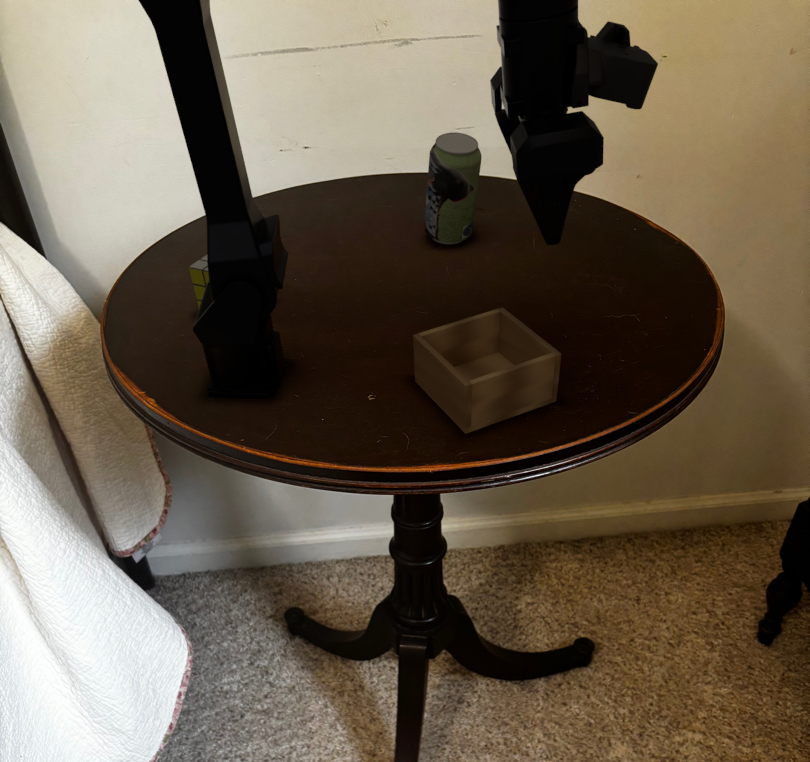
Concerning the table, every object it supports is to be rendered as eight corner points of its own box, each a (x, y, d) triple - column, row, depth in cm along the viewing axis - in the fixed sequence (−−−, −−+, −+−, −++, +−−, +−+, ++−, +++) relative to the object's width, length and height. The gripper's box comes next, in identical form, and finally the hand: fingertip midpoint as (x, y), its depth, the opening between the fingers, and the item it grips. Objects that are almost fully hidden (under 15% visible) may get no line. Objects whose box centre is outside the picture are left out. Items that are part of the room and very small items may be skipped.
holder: (465, 434, 71) (465, 386, 68) (414, 381, 78) (412, 334, 74) (556, 401, 74) (561, 353, 71) (500, 353, 81) (502, 306, 77)
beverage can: (443, 223, 103) (442, 123, 95) (490, 237, 100) (493, 134, 91) (413, 241, 100) (409, 139, 91) (460, 256, 96) (460, 151, 88)
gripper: (686, 20, 51) (667, 254, 62) (621, -35, 64) (615, 165, 75) (511, 52, 52) (523, 276, 63) (483, -9, 65) (497, 185, 76)
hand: (544, 220), depth 69 cm, fingers open, 9 cm apart
